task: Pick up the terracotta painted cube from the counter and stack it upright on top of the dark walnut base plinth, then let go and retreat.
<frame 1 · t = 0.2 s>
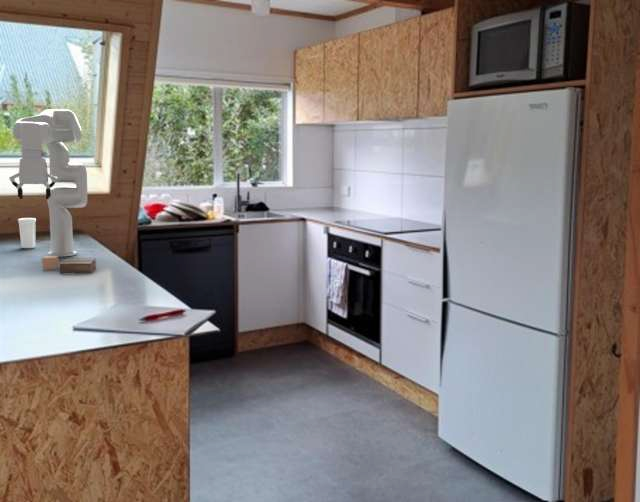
hand: (34, 198, 259), 30 cm above the countertop, fingers open, 9 cm apart
walnut base: (78, 270, 274), on the countertop
cup: (28, 248, 323), on the countertop
terracotta cube: (50, 268, 277), on the countertop
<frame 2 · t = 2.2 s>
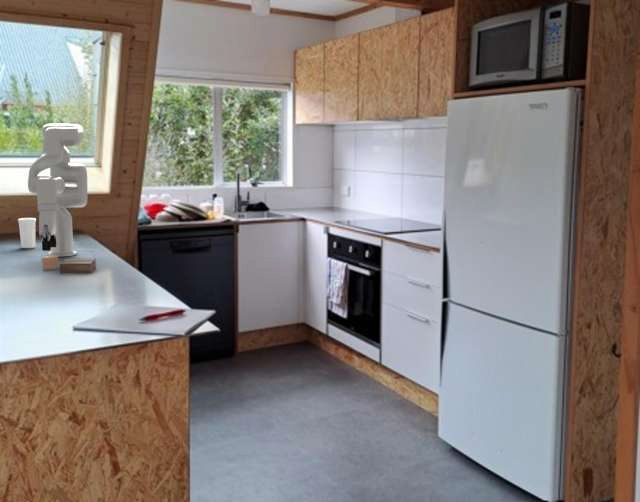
hand: (49, 248, 274), 8 cm above the countertop, fingers open, 9 cm apart
nothing on the countertop moved.
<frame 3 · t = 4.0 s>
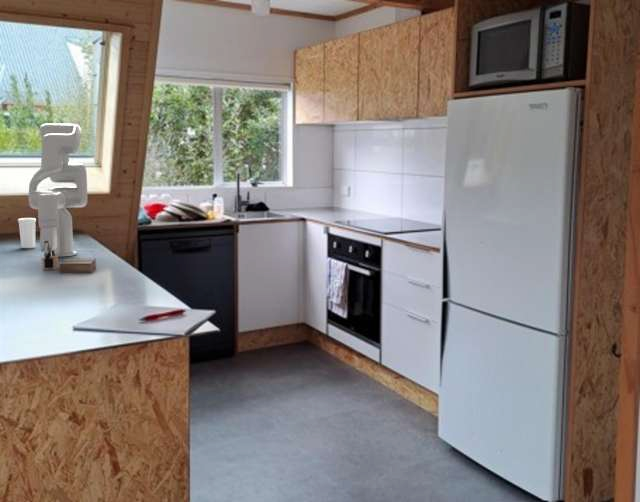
hand: (50, 266, 276), 1 cm above the countertop, fingers closed on terracotta cube, 5 cm apart
terracotta cube: (50, 268, 276), on the countertop, touching gripper
everything else where it was.
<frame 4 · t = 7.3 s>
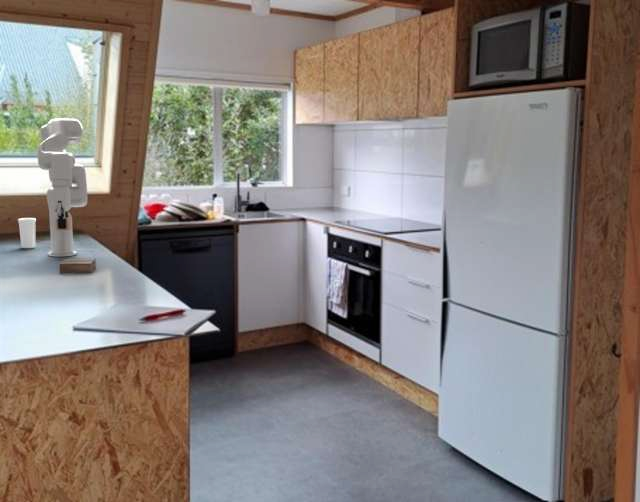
hand: (63, 227, 272), 18 cm above the countertop, fingers closed on terracotta cube, 4 cm apart
terracotta cube: (63, 229, 272), point 17 cm above the countertop, touching gripper
everything else where it was.
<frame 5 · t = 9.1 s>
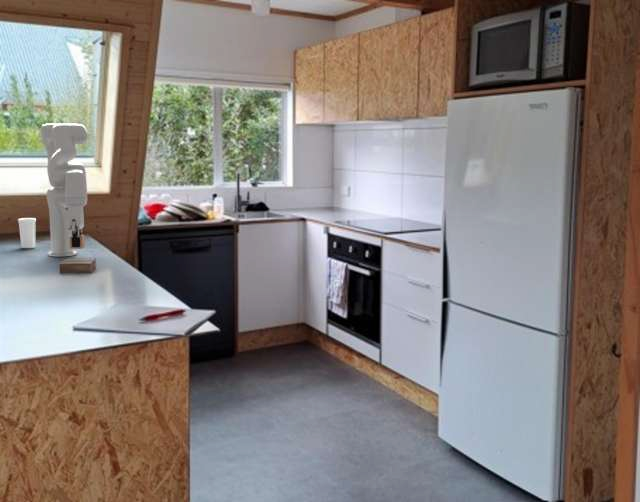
hand: (77, 245, 272), 11 cm above the countertop, fingers closed on terracotta cube, 4 cm apart
terracotta cube: (77, 247, 272), point 10 cm above the countertop, touching gripper
everything else where it was.
when the fingers open (6 cm above the countertop, at t = 10.7 s): terracotta cube drops 1 cm, resting on walnut base.
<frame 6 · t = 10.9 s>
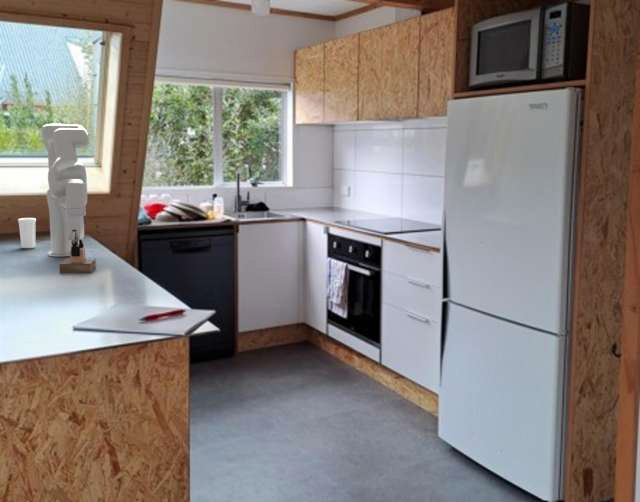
hand: (77, 254, 272), 7 cm above the countertop, fingers open, 7 cm apart
terracotta cube: (77, 260, 273), point 4 cm above the countertop, touching walnut base
everything else where it was.
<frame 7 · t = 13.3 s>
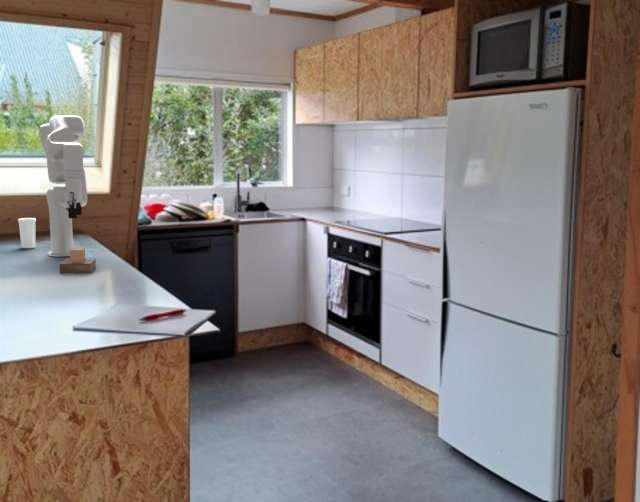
hand: (75, 216, 271), 22 cm above the countertop, fingers open, 9 cm apart
nothing on the countertop moved.
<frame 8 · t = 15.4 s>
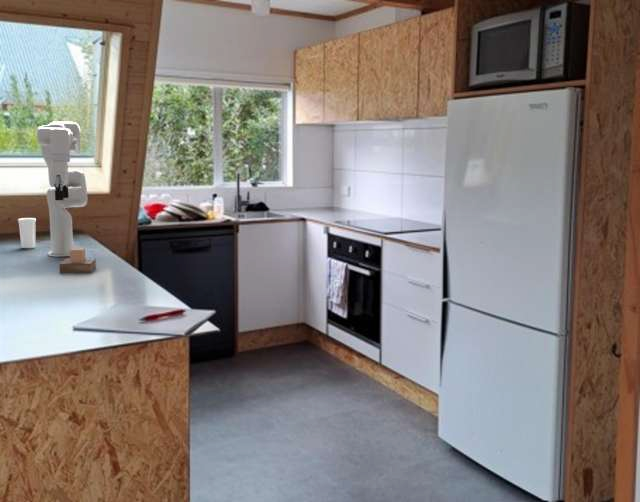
hand: (62, 199, 280), 28 cm above the countertop, fingers open, 9 cm apart
nothing on the countertop moved.
at the end: terracotta cube inside the target area on the walnut base (0.1 cm from its centre), point 4.0 cm above the walnut base's base; terracotta cube tilted 0°; the gripper is holding nothing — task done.
